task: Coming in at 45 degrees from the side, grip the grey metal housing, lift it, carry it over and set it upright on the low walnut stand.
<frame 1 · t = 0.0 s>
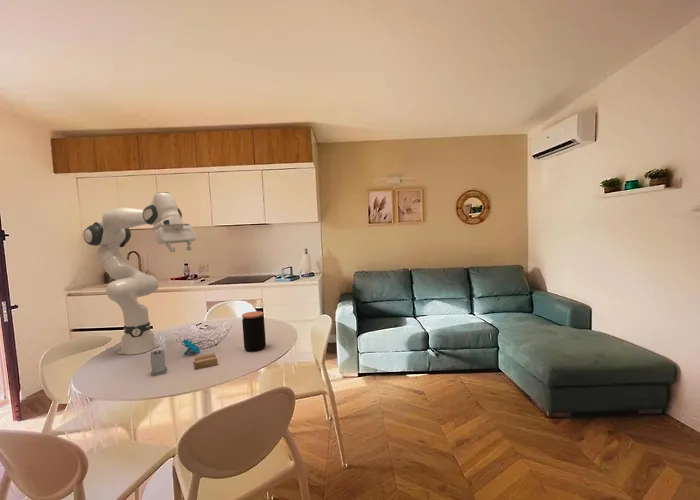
hand: (181, 250, 169), 52 cm above the table, tool tilted 20°, fingers open, 8 cm apart
coffee jar: (255, 349, 181), on the table
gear: (192, 353, 179), on the table
housing: (159, 372, 156), on the table
stand: (205, 363, 163), on the table
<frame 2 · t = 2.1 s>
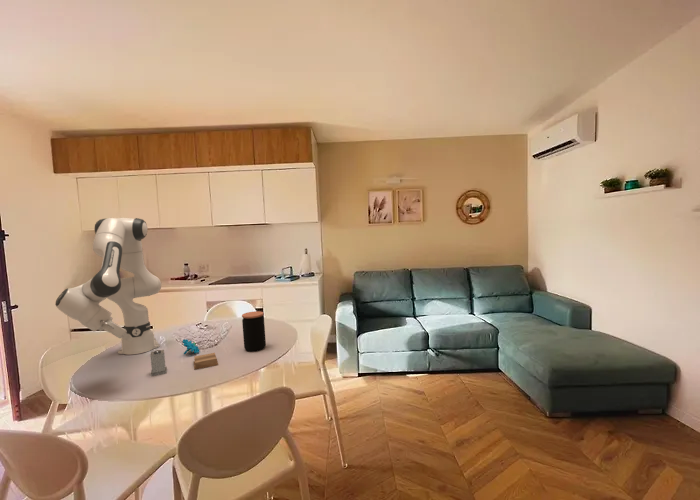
hand: (129, 338, 148), 18 cm above the table, tool tilted 45°, fingers open, 8 cm apart
nothing on the table moved.
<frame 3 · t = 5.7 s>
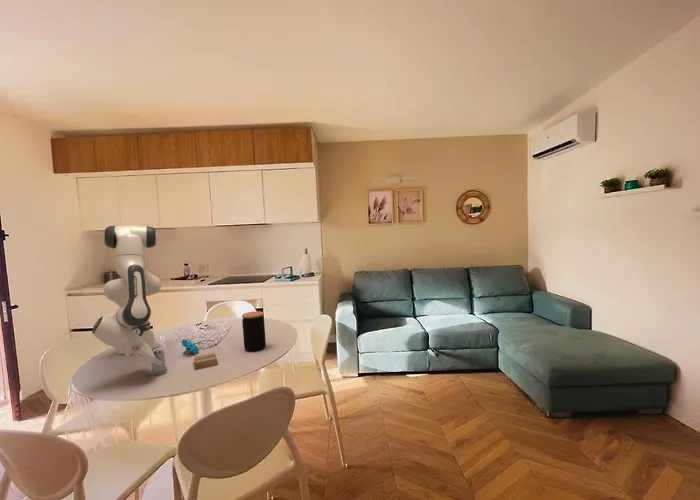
hand: (159, 361, 156), 5 cm above the table, tool tilted 45°, fingers closed on housing, 5 cm apart
housing: (159, 372, 156), on the table, touching gripper
everything else where it was.
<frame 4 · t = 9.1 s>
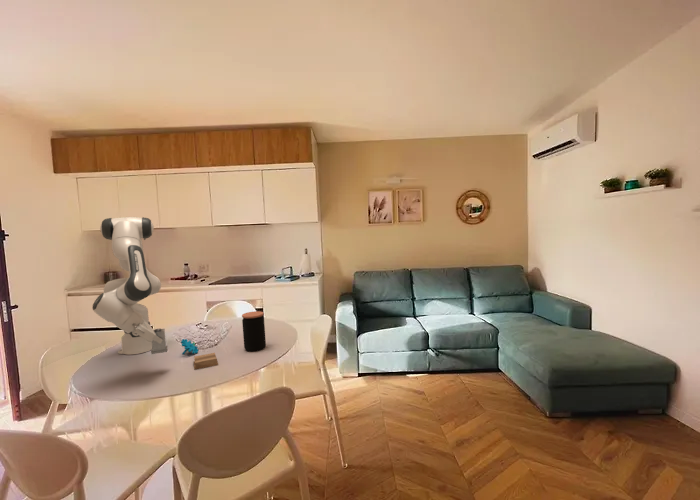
hand: (160, 339, 156), 14 cm above the table, tool tilted 45°, fingers closed on housing, 5 cm apart
housing: (159, 351, 156), point 9 cm above the table, touching gripper
everything else where it was.
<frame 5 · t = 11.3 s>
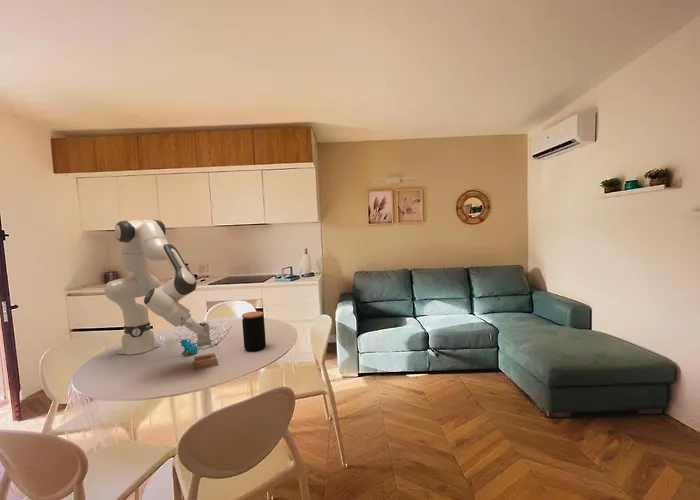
hand: (204, 333, 163), 14 cm above the table, tool tilted 45°, fingers closed on housing, 5 cm apart
housing: (204, 344, 163), point 9 cm above the table, touching gripper
when the fingers open (9 cm above the table, at t = 12.9 s): housing stays where it is, resting on stand.
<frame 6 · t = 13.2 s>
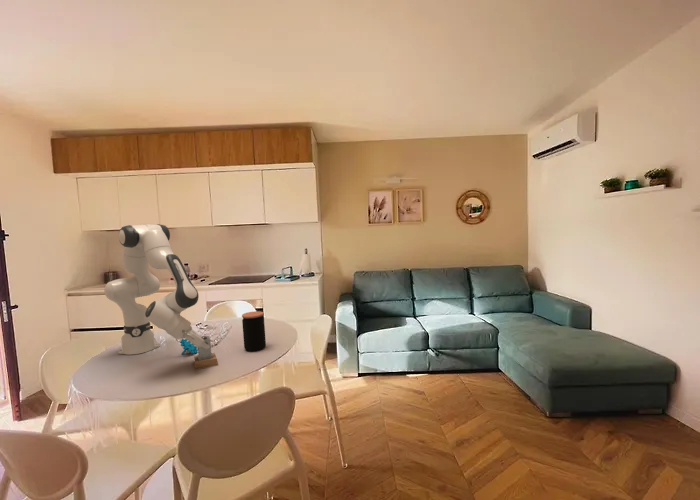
hand: (205, 345, 163), 9 cm above the table, tool tilted 45°, fingers open, 8 cm apart
housing: (205, 357, 163), point 3 cm above the table, touching stand
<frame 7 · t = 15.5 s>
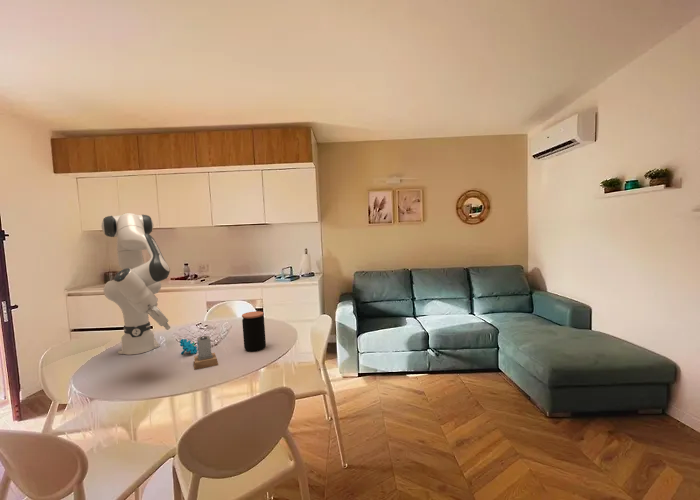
hand: (165, 325, 158), 20 cm above the table, tool tilted 30°, fingers open, 8 cm apart
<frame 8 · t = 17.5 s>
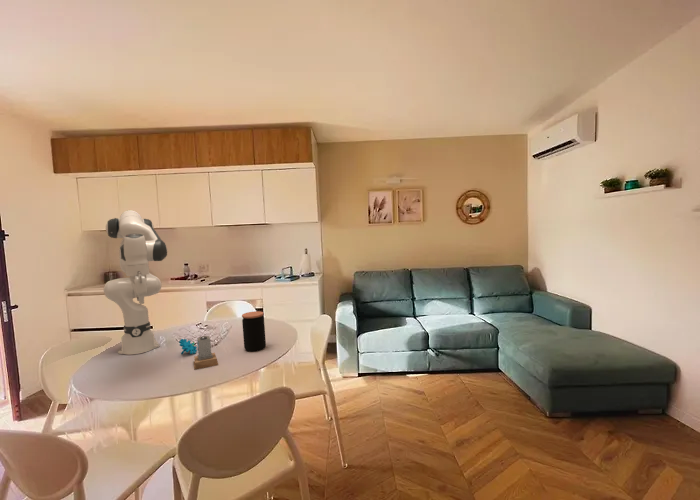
hand: (140, 302, 156), 31 cm above the table, tool pointing down, fingers open, 8 cm apart
at the end: housing inside the target area on the stand (0.1 cm from its centre), point 3.0 cm above the stand's base; housing tilted 0°; the gripper is holding nothing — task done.
